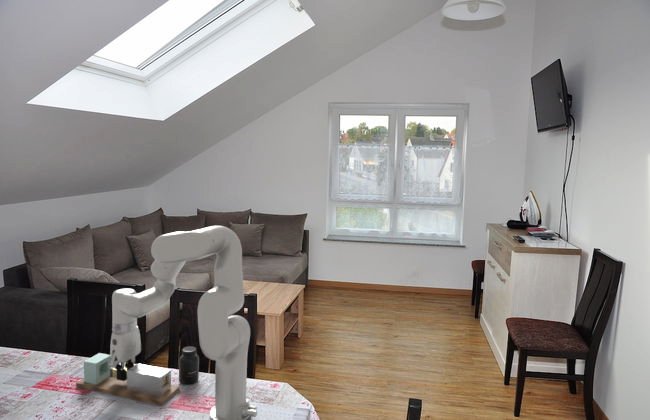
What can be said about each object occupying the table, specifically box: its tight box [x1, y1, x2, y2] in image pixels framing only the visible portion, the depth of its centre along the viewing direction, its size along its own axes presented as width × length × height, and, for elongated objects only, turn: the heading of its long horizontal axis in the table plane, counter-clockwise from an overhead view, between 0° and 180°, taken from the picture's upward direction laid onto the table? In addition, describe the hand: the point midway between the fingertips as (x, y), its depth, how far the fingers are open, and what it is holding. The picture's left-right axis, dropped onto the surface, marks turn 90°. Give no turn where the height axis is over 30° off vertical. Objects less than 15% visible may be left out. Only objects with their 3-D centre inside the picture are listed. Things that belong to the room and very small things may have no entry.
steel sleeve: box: [127, 363, 172, 397], centre depth 150 cm, size 13×6×7 cm, turn 74°
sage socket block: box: [83, 352, 112, 384], centre depth 156 cm, size 5×7×8 cm
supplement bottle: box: [178, 346, 200, 386], centre depth 160 cm, size 7×7×12 cm
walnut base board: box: [75, 376, 181, 407], centre depth 153 cm, size 34×10×2 cm, turn 74°
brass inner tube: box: [110, 366, 166, 386], centre depth 152 cm, size 20×3×3 cm, turn 74°
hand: (125, 376), depth 153 cm, fingers open, 3 cm apart
